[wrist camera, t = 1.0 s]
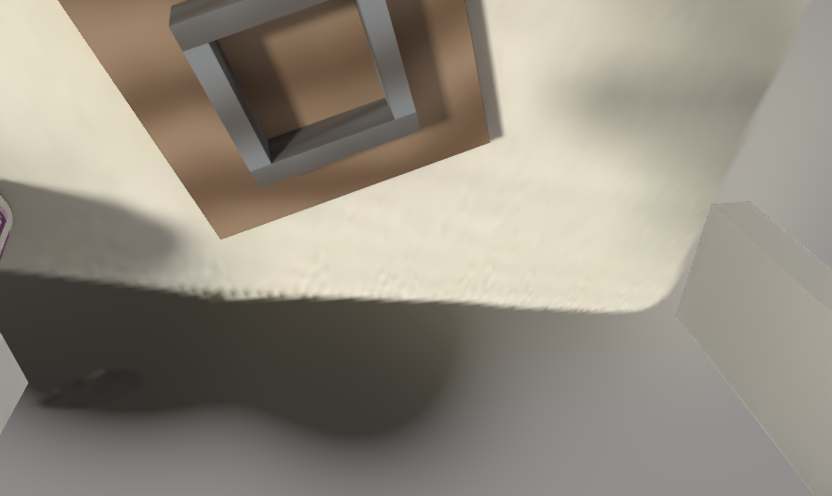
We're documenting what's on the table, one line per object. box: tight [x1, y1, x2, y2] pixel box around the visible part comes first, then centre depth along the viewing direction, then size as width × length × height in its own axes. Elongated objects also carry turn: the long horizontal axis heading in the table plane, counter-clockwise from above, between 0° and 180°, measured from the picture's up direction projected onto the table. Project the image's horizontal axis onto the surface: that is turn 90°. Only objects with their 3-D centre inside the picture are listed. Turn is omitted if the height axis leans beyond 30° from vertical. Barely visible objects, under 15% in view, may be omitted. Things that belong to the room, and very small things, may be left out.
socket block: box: [58, 0, 490, 239], centre depth 30 cm, size 18×18×4 cm
